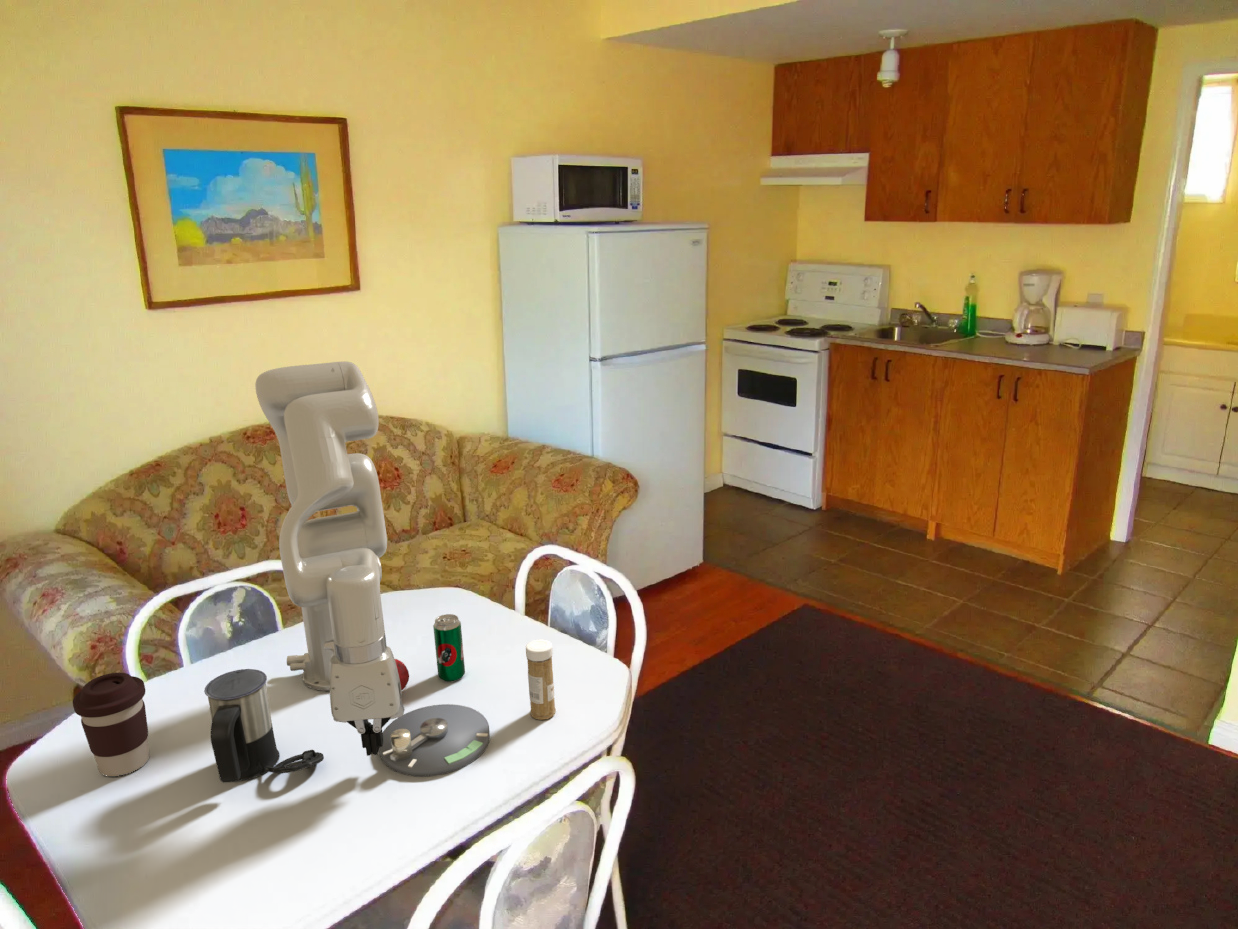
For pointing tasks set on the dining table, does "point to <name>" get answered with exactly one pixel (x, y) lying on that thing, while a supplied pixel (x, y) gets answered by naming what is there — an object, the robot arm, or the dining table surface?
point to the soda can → (449, 648)
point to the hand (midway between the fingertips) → (373, 750)
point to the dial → (439, 741)
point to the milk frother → (246, 728)
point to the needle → (403, 742)
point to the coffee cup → (114, 722)
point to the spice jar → (540, 679)
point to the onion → (402, 673)
